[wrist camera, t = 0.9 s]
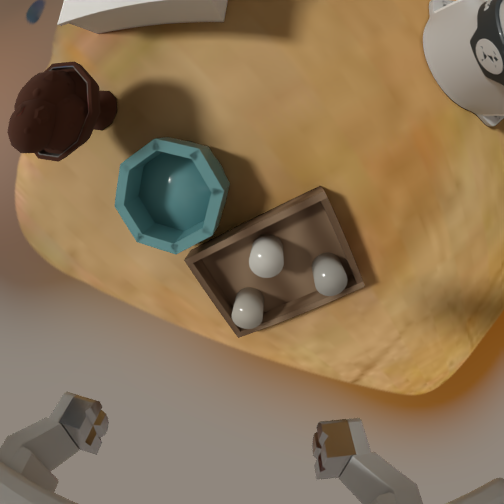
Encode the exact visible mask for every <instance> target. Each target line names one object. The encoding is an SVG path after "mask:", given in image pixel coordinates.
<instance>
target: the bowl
mask: <svg viewBox="0 0 504 504" xmlns="http://www.w3.org/2000/svg"><path fill="white" fill-rule="evenodd" d="M229 186H230V183H229V181H228V179H227V177H226V176H225V173H224V170H223V168H222V166H221V164H220V163H219V161H218V160H217V158H216V157H215V156H214V155H213V153H212V152H211V150H210V148H209V146H205V145H201V144H197V143H194V142H191V141H186V140H179V139H175V138H170V137H164V138H155V139H154V140H152V141H151V142H149V143H148V144H147V145H145V146H144V147H142V148H141V149H140V150H138V151H137V152H136V153H134V154H133V155H132V156H130V157H129V158H128V159H126V160H125V161H124V162H123V163H121V164H120V171H119V177H118V184H117V191H116V199H115V208H116V209H117V211H118V213H119V214H120V216H121V217H122V219H123V221H124V222H125V224H126V225H127V227H128V229H129V230H130V232H131V233H132V235H133V236H134V238H135V240H136V241H137V242H139V243H142V244H145V245H148V246H151V247H154V248H157V249H161V250H164V251H167V252H170V253H173V254H178V253H180V252H182V251H183V250H185V249H187V248H189V247H191V246H193V245H195V244H197V243H199V242H201V241H202V240H204V239H206V238H208V237H210V236H212V235H213V234H214V232H215V230H216V229H217V227H218V225H219V224H220V220H221V216H222V212H223V209H224V206H225V203H226V199H227V194H228V190H229Z"/></svg>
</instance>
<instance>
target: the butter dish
mask: <svg viewBox="0 0 504 504" xmlns="http://www.w3.org/2000/svg"><path fill="white" fill-rule="evenodd" d="M227 3H228V0H64V3H63V6H62V10H61V14H60V17H59V20H58V24H57V25H61V26H62V25H65V24H68V23H69V24H72V25H75V26H78V27H81V28H84V29H86V30H89V31H92V32H94V33H97V34H100V33H105V32H110V31H115V30H121V29H127V28H134V27H141V26H149V25H159V24H170V23H187V22H224V19H225V14H226V8H227Z"/></svg>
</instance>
